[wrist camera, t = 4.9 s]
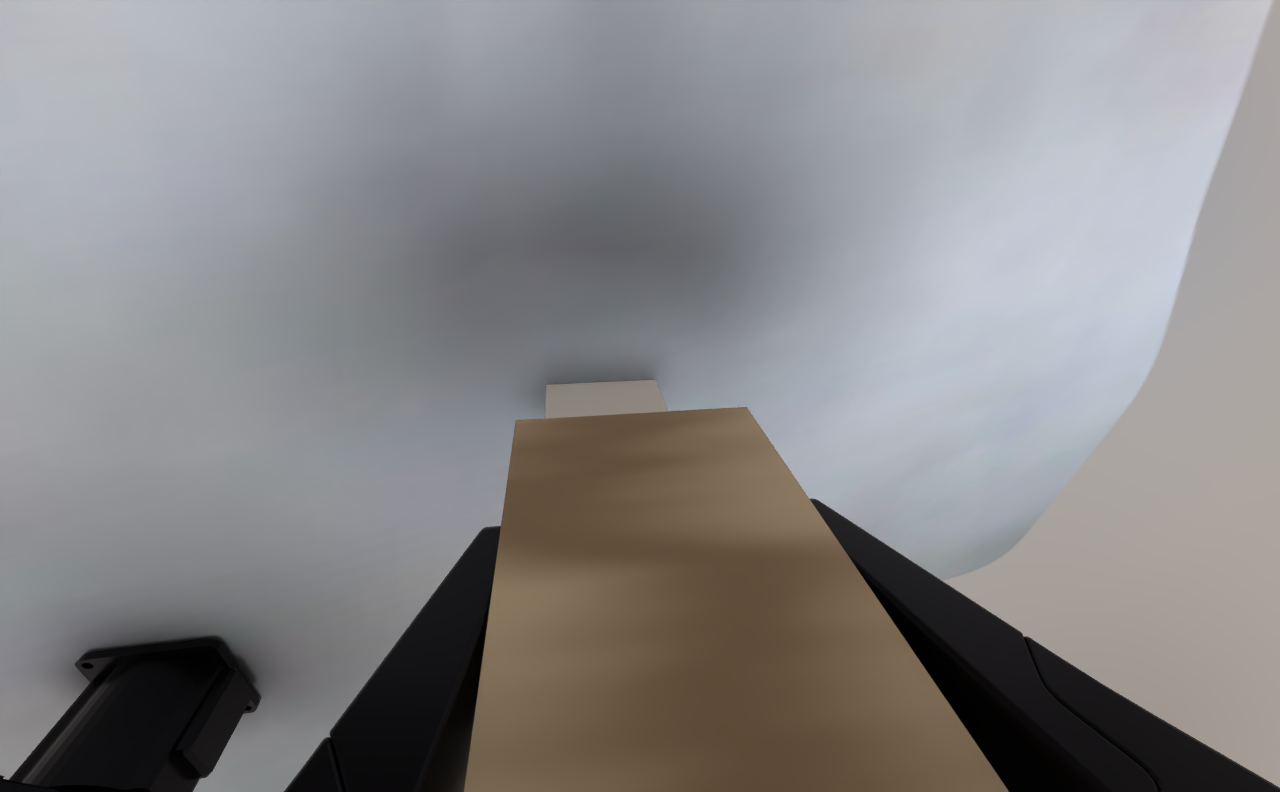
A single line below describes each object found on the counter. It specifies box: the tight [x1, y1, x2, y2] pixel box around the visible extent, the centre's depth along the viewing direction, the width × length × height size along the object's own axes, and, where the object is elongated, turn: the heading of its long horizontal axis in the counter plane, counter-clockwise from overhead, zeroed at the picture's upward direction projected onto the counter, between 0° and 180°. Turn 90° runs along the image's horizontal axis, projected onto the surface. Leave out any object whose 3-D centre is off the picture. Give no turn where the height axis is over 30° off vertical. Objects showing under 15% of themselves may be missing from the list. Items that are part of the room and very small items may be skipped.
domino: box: [545, 380, 668, 419], centre depth 18 cm, size 5×2×8 cm, turn 88°
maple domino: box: [464, 407, 1009, 792], centre depth 7 cm, size 5×2×8 cm, turn 88°
